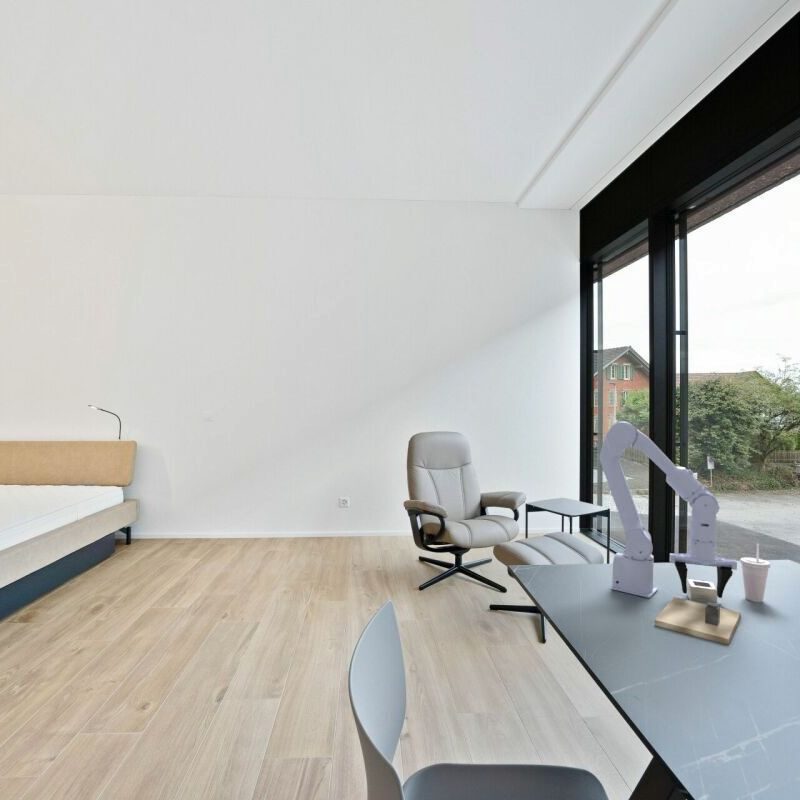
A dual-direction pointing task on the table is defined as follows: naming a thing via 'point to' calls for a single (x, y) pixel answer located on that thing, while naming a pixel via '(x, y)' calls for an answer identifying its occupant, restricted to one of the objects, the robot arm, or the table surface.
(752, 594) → the smoothie
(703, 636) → the post board
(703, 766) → the table surface
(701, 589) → the steel collar
